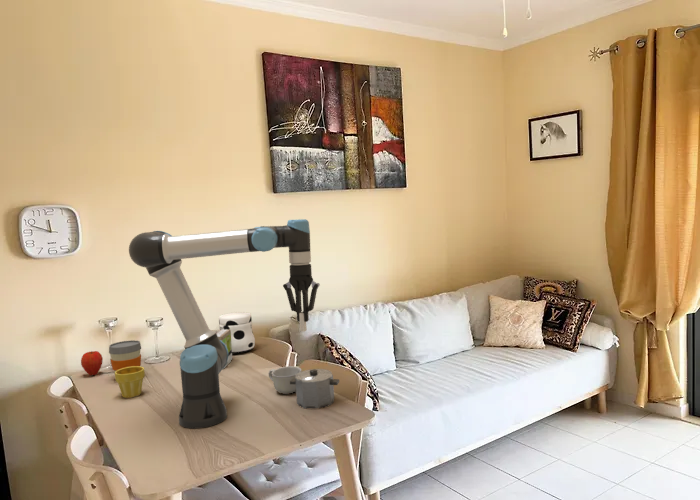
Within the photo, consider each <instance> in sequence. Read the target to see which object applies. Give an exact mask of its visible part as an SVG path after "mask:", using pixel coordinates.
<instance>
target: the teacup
mask: <svg viewBox="0 0 700 500" xmlns="http://www.w3.org/2000/svg"><path fill="white" fill-rule="evenodd" d="M299 372H302V368H301V367H299V366H295V365H293V366H292V365H290V366H282V367H279V368H276V369H275V368H272V369H270V370H269V371H268V378H269V379H270V380H271V381H272V382H273V383H272V384H273V387H274V390H275V391H276V392H278V393H280V394H281V393H283V394H282V395H289V394H288V393H292V394H294V393H293V392H295V393H296V384H290V381H291V380H292V379H296V374H297V373H299Z"/></svg>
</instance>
